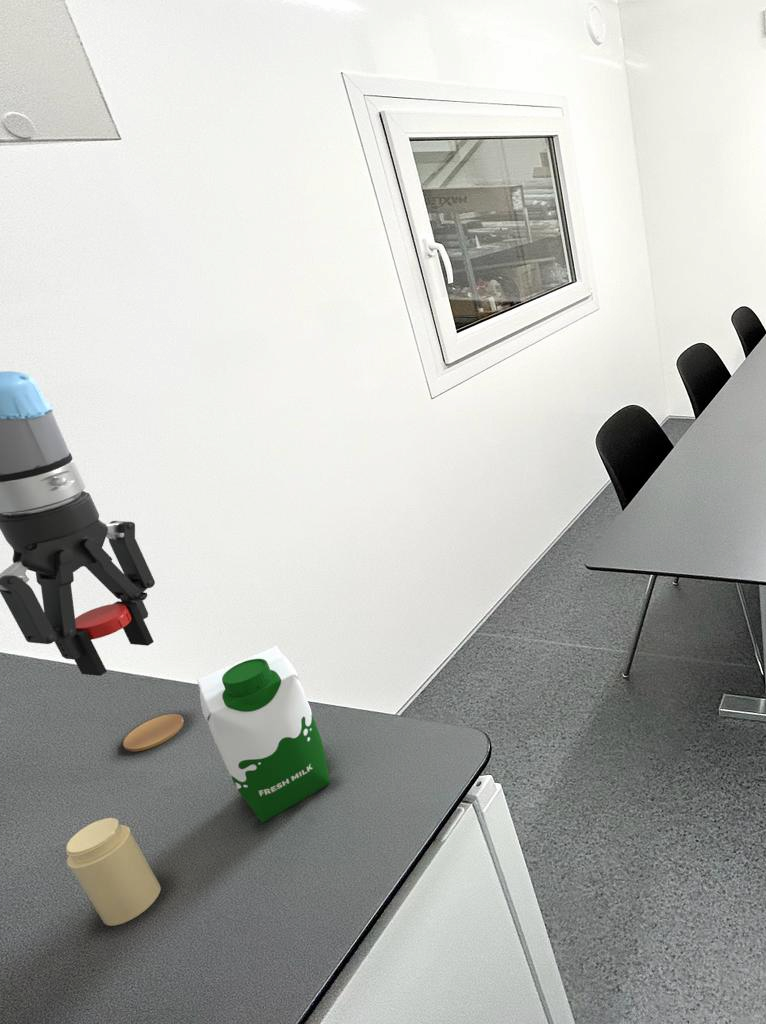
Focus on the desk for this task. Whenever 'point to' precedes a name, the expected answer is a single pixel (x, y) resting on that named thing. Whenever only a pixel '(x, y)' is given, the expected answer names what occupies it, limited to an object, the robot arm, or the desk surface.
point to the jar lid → (103, 620)
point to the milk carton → (265, 732)
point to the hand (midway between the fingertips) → (118, 657)
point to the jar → (112, 871)
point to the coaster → (153, 732)
